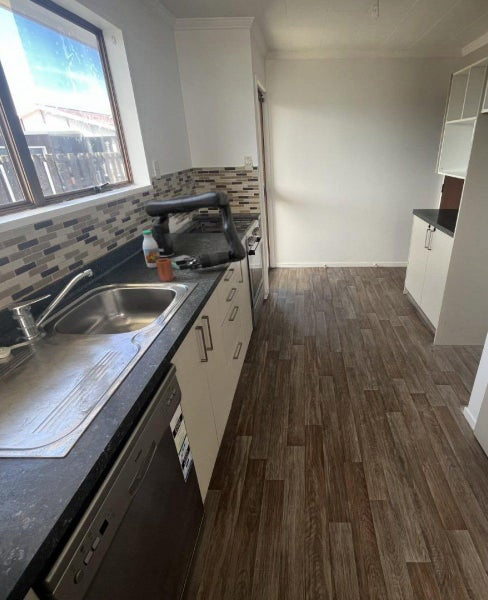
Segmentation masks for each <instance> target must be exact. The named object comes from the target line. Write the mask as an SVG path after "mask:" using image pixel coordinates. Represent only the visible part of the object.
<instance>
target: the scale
mask: <svg viewBox="0 0 488 600" xmlns="http://www.w3.org/2000/svg"><path fill="white" fill-rule="evenodd" d="M171 265H172V268H174V269H176V270H180V266H181V265H176V262H173V261H171ZM183 265H186V264H183ZM187 265H188V264H187Z"/></svg>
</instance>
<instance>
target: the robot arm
mask: <svg viewBox="0 0 488 600" xmlns="http://www.w3.org/2000/svg"><path fill="white" fill-rule="evenodd" d="M201 209H218V210H219V212H220V214H221V217H222V232H223V235H224V237H225V241H226V243H227V245H228V246H229V247H230V248H231V249H230V250H220V251H212V252H207V253H200V254H199V255H198V257H197V258H196V256H189V257H188V258H184V259H183V260H180V261H176V265H181V266H180V269H179V270H180V271H185V270H190V271H194V270H199V269H207V268H213V267H217V266H220V265H225V264H231V263H238V262H241V261H243V260H245V259H246V257H247V251H246V248H245V247H244V245H243V243H242V241H241V239H240V237H239V234H238V231H237V228H236V225H235V222H234V217H233V214H232V207H231V203H230V199H229V195H228V193H226V192H225V191H223V190H217V189H213V190H209V191H206V192H204V193H203V192H202V193H199V194H185V195H179V196H175V197H171V198H168V199H166V200H163V199H160V198H159V199H158V198H157V199H153V200H150V201H148V202H146V203H145V205H144V212H145V214H146V215H147V216H149V217H151V218H154V221H153V222H152V223H151V229H152V234H153V238H154V240H155V241H156V243H157V245H158V249H159V254H160V258H169V257H173V256H174V255H175V250H174V246H173V241H172V235H171V230H170V217H169V216H170V215H171V214H172V215H175V214H177V215H178V214H185V213H186V214H187V213H192V212H196V211H198V210H201ZM142 252H144V250H143V249H140V251H139V253H142ZM183 264H186V265H183ZM187 264H188V265H187Z"/></svg>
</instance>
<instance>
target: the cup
mask: <svg viewBox="0 0 488 600" xmlns="http://www.w3.org/2000/svg"><path fill="white" fill-rule="evenodd" d="M170 259H171V258H161V259H160V260H157V261H156V263H157V267H156V268H157V272H158V276H159V281H160V282H163V283H167V282H171V281H173V280H175V276H174V271H173V267H172V265H171V260H170Z"/></svg>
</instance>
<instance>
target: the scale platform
mask: <svg viewBox="0 0 488 600" xmlns="http://www.w3.org/2000/svg"><path fill="white" fill-rule="evenodd" d="M188 257H190V256H189V255H186V254H182V255H179V256H176V257H172V258H169V259H170V260H171V261H173V262H176V261H180V260H183V259H184V258H188Z"/></svg>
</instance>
